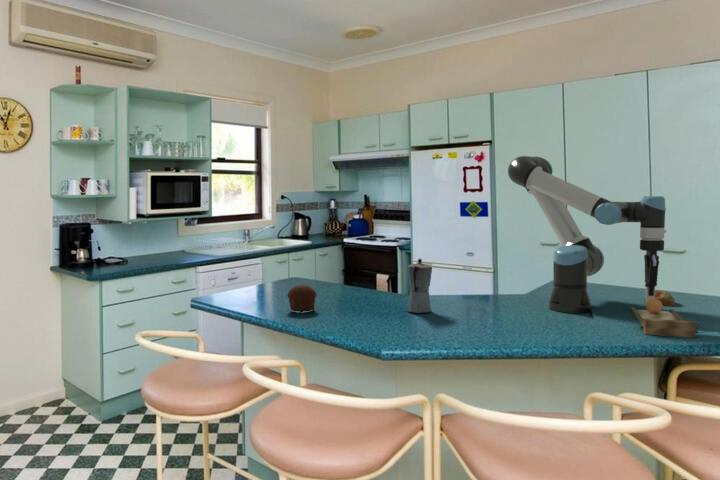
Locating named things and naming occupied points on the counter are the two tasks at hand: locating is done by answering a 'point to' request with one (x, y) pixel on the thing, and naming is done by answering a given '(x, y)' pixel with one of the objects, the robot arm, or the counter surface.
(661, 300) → the bread roll
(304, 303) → the muffin
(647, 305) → the ball
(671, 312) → the lane
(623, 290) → the counter surface
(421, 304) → the moka pot
